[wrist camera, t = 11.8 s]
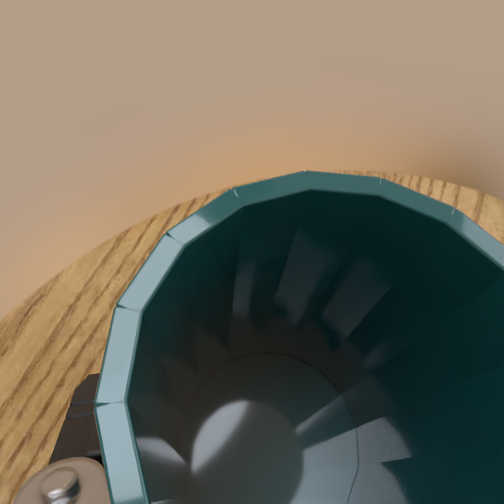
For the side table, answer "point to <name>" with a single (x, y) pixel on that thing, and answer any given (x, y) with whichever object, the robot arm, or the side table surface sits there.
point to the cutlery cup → (309, 353)
